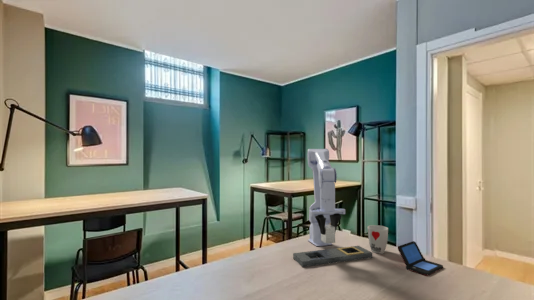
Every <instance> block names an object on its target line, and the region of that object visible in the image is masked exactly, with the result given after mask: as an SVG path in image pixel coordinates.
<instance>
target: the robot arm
mask: <svg viewBox="0 0 534 300" xmlns="http://www.w3.org/2000/svg"><path fill="white" fill-rule="evenodd" d="M306 157H307V165H308V166H307V167H308V168H310V169H311V171H312V177H313V194H314V195H313V196H314V202H313V203H312V204H311V205H310V206H309V207H308V210H309V212H308V219H309V222H310V225H309V229H308V230H309V238H308V239H307V241H308V242H310V243H311V244H313V245H314V246H315V247H323V246H325V247H326V246H331V245H333V243H324V242H323V241H321V234H323V235H325V225H332V226H334V227H335V233H336V232H337V228H338V224H339V223H340V220H341V219H342V215H346V209H345V208H336V183H337V179H338V176H337V175H338V173H337V169H336V168H335V167H332V164H331V162H330V161H329V160H330V150H329V148H308V149H307V154H306Z"/></svg>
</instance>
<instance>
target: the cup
mask: <svg viewBox="0 0 534 300" xmlns="http://www.w3.org/2000/svg"><path fill="white" fill-rule="evenodd" d="M388 233H389V227H387V226H384V225H378V224H377V225H376V224H373V225H372V224H371V225H370V224H369V225H368V226H367V238H368V243H369V247H370V250H371V251H370V252H372V251H373V252H372V253H374V252H375V254H385V252H386V249H387V244H388V239H389V234H388Z"/></svg>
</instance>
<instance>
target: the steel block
mask: <svg viewBox="0 0 534 300" xmlns="http://www.w3.org/2000/svg"><path fill="white" fill-rule="evenodd" d="M321 241H323V242H324V243H332V244H333V243H336V232H335V227H334V226H332V225H331V224H329V225H325V235H323V234H321Z"/></svg>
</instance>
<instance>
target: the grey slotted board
mask: <svg viewBox="0 0 534 300" xmlns="http://www.w3.org/2000/svg"><path fill="white" fill-rule="evenodd" d="M292 258H293V260H294V261H296V263H297V264H298V265H299V266H301V267H302V268H306V267H313V266H315V267H316V266H320V265H321V266H322V265H329V263H330V264H335V263H336V262H337V263H342V262H343V263H344V261H345V262H350V261H351V262H352V261H359V260H366V259H372V258H373V252H372V251H369V250H368V249H366V248H364V247H363V246H360V245H351V246H345V247H343V246H342V247H336V248H327V249H318V250H310V251H302V252H301V251H300V252H293V253H292Z"/></svg>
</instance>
